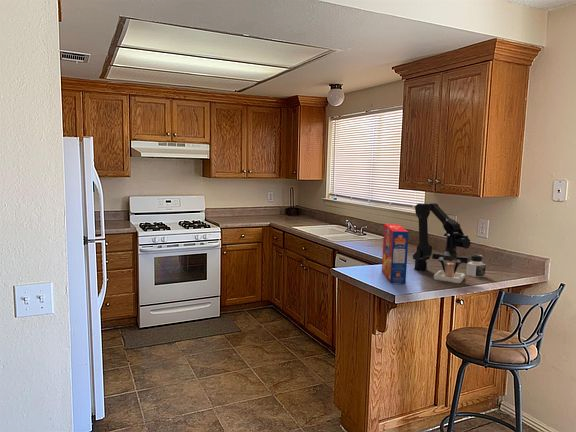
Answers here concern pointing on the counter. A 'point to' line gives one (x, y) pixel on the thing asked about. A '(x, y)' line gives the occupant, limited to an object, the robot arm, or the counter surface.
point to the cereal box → (395, 253)
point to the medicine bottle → (476, 266)
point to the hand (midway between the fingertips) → (449, 273)
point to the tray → (456, 279)
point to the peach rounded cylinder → (449, 269)
